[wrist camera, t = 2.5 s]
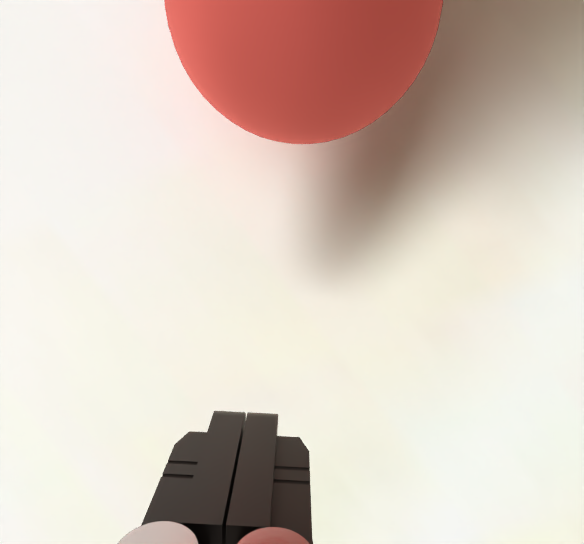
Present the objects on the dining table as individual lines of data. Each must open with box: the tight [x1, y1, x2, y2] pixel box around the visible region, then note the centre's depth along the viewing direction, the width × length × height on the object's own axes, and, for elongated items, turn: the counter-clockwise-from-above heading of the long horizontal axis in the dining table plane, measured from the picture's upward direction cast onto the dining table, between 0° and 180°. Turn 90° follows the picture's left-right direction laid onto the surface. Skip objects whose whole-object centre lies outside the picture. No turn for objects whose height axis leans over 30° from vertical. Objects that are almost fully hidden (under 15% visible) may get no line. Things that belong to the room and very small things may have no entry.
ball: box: [165, 0, 443, 144], centre depth 11 cm, size 6×6×6 cm
